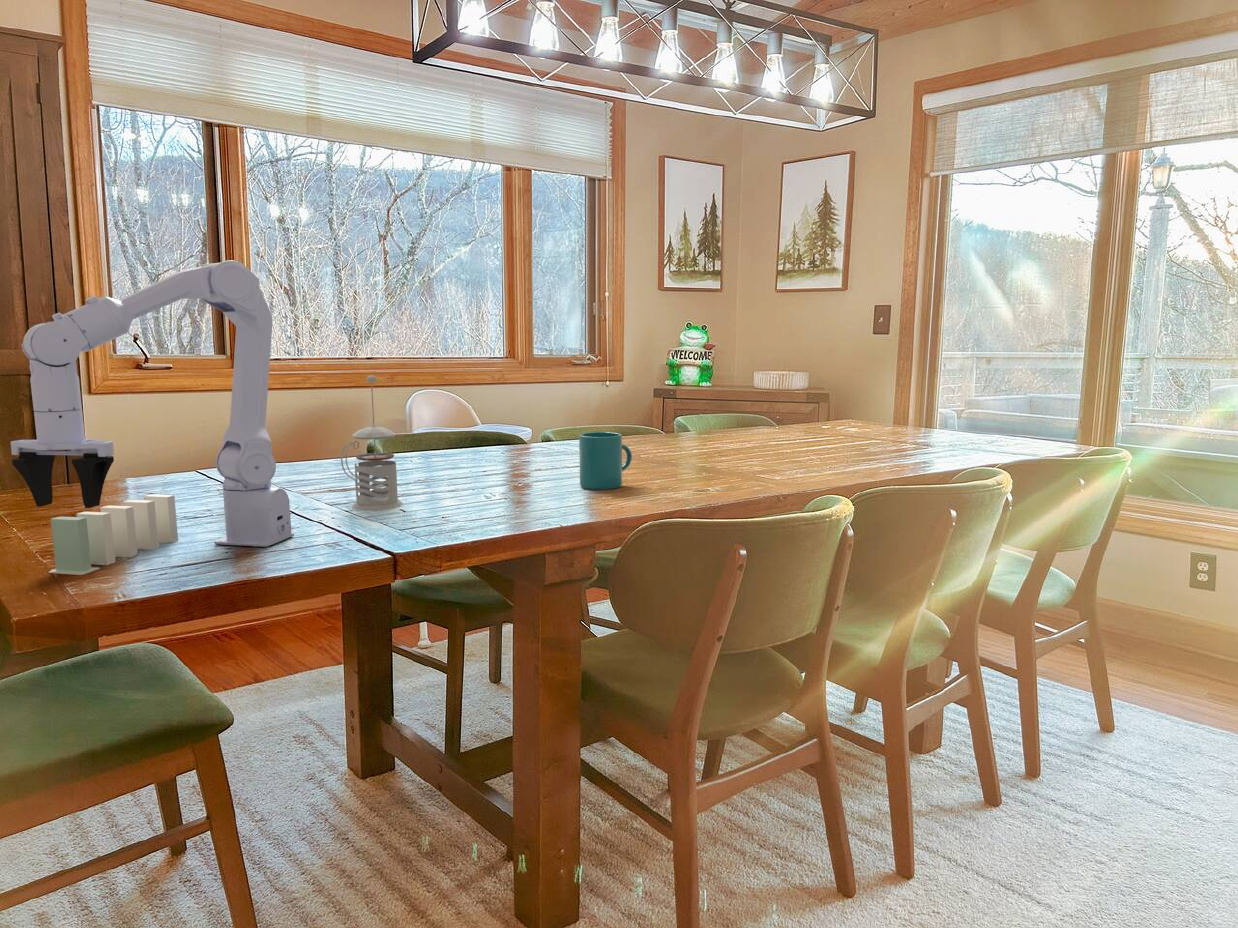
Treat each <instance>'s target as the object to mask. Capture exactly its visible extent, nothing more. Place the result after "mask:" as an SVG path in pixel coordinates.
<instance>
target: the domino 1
mask: <svg viewBox="0 0 1238 928" xmlns="http://www.w3.org/2000/svg"><path fill="white" fill-rule="evenodd" d="M50 526H51V536H52V543H53V544H52V545H53V546H52V547H53V554H54V563H55V569H56V570H57V571H74V572H84V571H87V570H90V569H92V568H91V567H92V564H91V559H90V549H89V539H88V529H87V519H86V518H82V517H77V516H57V517H53V518H50Z"/></svg>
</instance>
